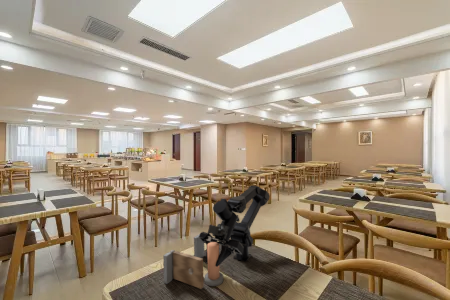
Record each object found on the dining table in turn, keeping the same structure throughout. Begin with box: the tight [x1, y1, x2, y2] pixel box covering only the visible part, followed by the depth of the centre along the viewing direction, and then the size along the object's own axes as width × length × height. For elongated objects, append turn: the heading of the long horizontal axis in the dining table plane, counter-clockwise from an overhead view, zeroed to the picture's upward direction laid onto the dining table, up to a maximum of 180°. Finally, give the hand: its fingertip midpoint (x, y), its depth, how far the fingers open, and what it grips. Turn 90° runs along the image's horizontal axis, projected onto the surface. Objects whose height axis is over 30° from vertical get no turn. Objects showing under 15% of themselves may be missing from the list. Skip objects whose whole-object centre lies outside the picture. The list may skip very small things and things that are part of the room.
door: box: [169, 249, 205, 290], centre depth 79 cm, size 15×3×10 cm, turn 60°
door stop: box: [204, 242, 224, 287], centre depth 81 cm, size 7×7×14 cm
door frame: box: [162, 233, 206, 285], centre depth 90 cm, size 24×2×10 cm, turn 150°
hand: (211, 264), depth 79 cm, fingers closed on door stop, 4 cm apart
